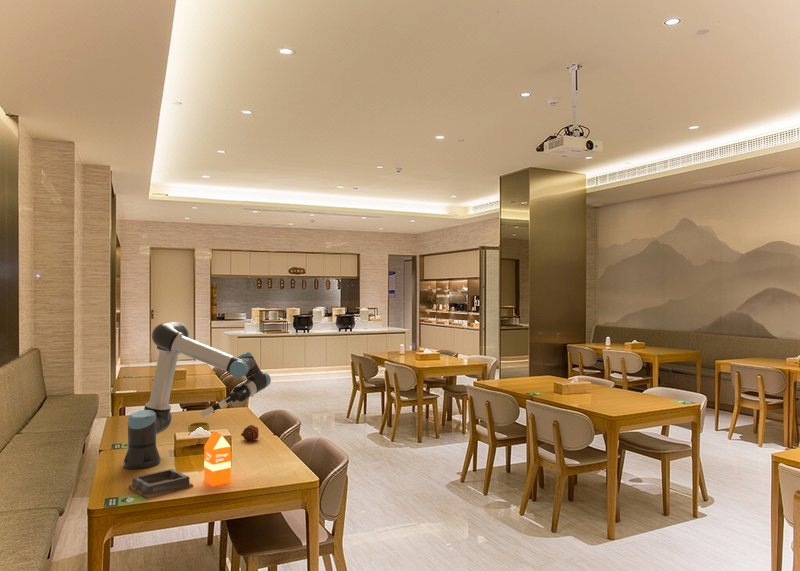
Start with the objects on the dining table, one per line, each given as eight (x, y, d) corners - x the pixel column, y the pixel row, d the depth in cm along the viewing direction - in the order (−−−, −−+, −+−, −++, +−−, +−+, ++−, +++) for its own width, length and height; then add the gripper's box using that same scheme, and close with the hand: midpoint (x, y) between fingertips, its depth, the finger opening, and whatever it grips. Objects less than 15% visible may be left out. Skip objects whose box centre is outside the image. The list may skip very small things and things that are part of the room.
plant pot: (202, 446, 291) (202, 426, 291) (184, 445, 293) (184, 425, 293) (213, 440, 301) (213, 422, 301) (195, 440, 303) (195, 421, 303)
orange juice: (212, 486, 229) (212, 436, 229) (203, 481, 235) (203, 432, 236) (231, 482, 234) (231, 433, 234) (222, 477, 241) (221, 429, 241)
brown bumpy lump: (252, 446, 296) (247, 444, 306) (265, 434, 300) (259, 433, 310) (241, 433, 294) (237, 432, 305) (254, 422, 298) (249, 421, 309)
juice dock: (128, 487, 228) (128, 477, 228) (173, 477, 241) (173, 467, 241) (147, 498, 215) (147, 488, 216) (192, 486, 228) (192, 476, 228)
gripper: (265, 389, 259) (232, 409, 241) (232, 406, 272) (198, 426, 254) (257, 374, 259) (223, 393, 241) (224, 392, 272) (190, 411, 254)
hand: (210, 410), depth 247 cm, fingers open, 13 cm apart
